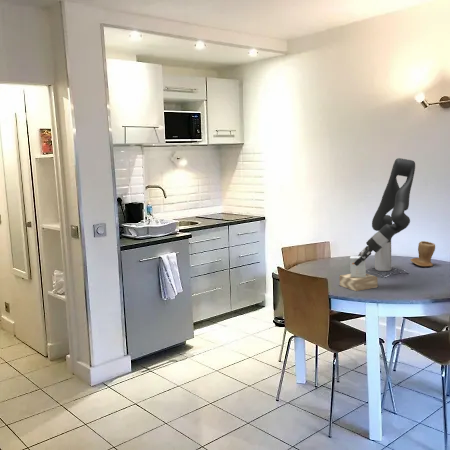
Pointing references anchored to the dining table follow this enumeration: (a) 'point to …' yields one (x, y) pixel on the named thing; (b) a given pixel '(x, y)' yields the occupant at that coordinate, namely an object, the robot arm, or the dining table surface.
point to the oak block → (358, 282)
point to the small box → (357, 267)
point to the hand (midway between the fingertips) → (355, 263)
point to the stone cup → (424, 254)
